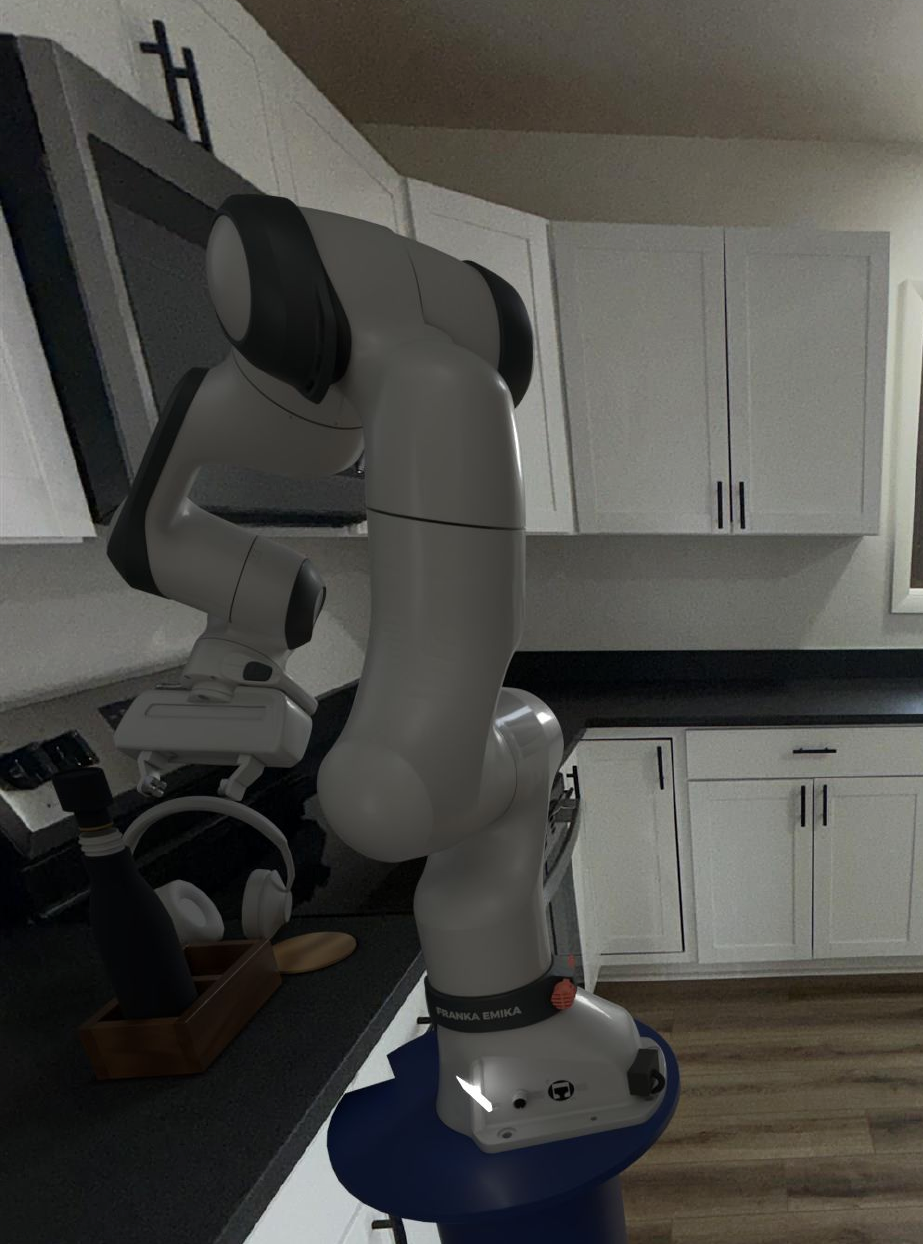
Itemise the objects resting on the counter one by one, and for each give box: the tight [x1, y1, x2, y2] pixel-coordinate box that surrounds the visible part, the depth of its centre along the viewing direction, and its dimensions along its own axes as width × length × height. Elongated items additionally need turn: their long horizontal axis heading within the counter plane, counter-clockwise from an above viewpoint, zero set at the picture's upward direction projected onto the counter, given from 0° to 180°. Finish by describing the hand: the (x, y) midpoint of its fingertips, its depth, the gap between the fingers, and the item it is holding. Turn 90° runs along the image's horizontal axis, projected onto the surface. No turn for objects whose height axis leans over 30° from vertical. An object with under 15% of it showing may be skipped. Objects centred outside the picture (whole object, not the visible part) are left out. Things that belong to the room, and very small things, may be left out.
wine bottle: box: [49, 766, 199, 1020], centre depth 84 cm, size 6×6×30 cm
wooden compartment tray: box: [76, 938, 283, 1081], centre depth 93 cm, size 10×19×6 cm, turn 7°
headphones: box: [121, 795, 296, 943], centre depth 108 cm, size 19×9×20 cm, turn 108°
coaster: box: [272, 931, 357, 975], centre depth 110 cm, size 11×11×1 cm
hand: (188, 796), depth 90 cm, fingers open, 8 cm apart
